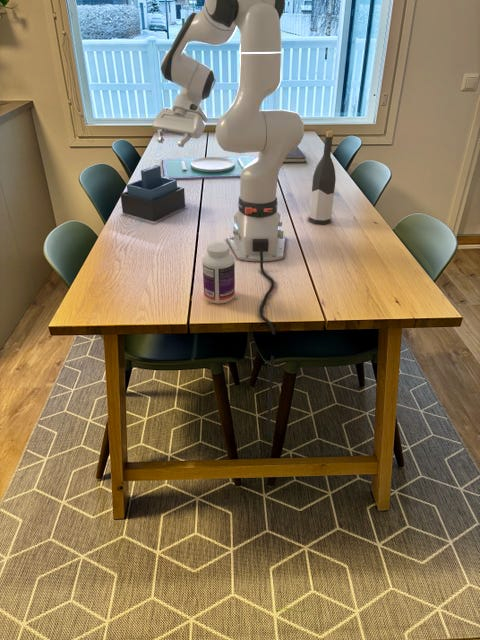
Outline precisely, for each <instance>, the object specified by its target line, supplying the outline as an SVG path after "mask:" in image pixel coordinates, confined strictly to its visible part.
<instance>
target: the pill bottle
mask: <svg viewBox="0 0 480 640" xmlns="http://www.w3.org/2000/svg"><path fill="white" fill-rule="evenodd" d="M201 260H202V262H201V263H202V281H203V296H204V299H206V300H207V301H208V302H210V303H213V304H226V303H229V302H230V301H232V300H233V299H234V298H235V294H236V277H235V276H236V274H235V273H236V271H235V270H236V269H235V268H236V264H235V263H236V261H235V257H234V255H233V254H232V253H231V249H230V244H229V243H228V244H227V243H225V242H221V241H220V242H219V241H216V242H212V243H209V244H208V245H207V246H206V253H205V254H204V255H203V256H202V259H201Z"/></svg>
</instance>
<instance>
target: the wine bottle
mask: <svg viewBox="0 0 480 640" xmlns="http://www.w3.org/2000/svg"><path fill="white" fill-rule="evenodd" d="M333 134H334V132H333V131H332V130H327V131H326V133H325V136H324V146H323V155H322V156H321V158H320V160H319V161H318V163H317V165H316V167H315V169H314V172H313V175H312V184H311V185H312V186H311V194H310V205H309V214H308V221H309V223H312V224H314V225H326V224H330V223H331V219H332V212H333V204H334V195H335V189H336V181H337V179H336V178H337V177H336V169H335V165H334V161H333V159H332V155H331V154H332V147H333V146H332V145H333V138H334V135H333Z"/></svg>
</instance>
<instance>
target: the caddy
mask: <svg viewBox="0 0 480 640" xmlns="http://www.w3.org/2000/svg"><path fill="white" fill-rule="evenodd" d="M140 177H141V179H138V180H136V181H133V182H131V183H128V184H126V189H127V192H128V195H131V196H134V197H138V198H142V199H146V200H150V201H153V200H155V199H158V198H160V197H162V196H165V195H167V194H169V193H171V192H174V191H176V190H177V186H178V180H173V179H169V178H165V177H164V176H162V169H161V165H157V164H155V165H152V166H150V167H147V168H144V169H141V170H140Z"/></svg>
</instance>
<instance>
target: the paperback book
mask: <svg viewBox="0 0 480 640" xmlns="http://www.w3.org/2000/svg"><path fill="white" fill-rule="evenodd" d="M306 159H307V157H306V155H305V154H304V153H303V152H302V150H301V149H300V147H299V145H298V146H297V147H295V148H294V149H293V150H292V151H291V152H290V153H289V154H288V156H287V157H286V158H285V160H284V162H283V164H301V163H307V160H306Z"/></svg>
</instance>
